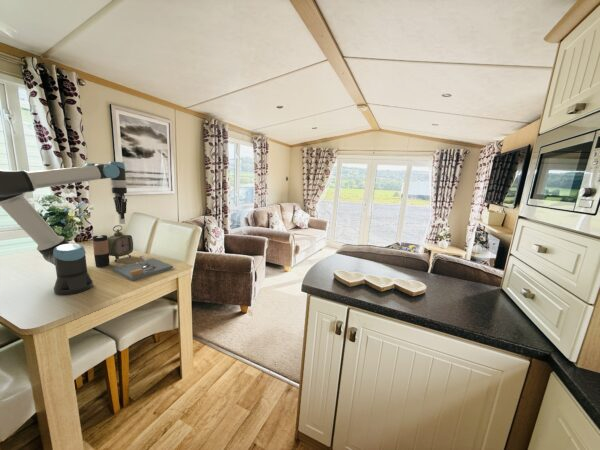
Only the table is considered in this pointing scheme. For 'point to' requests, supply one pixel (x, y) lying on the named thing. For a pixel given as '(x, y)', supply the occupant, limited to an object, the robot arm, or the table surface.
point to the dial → (145, 263)
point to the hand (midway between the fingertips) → (122, 223)
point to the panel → (157, 268)
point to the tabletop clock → (120, 244)
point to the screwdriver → (138, 271)
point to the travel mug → (101, 251)
